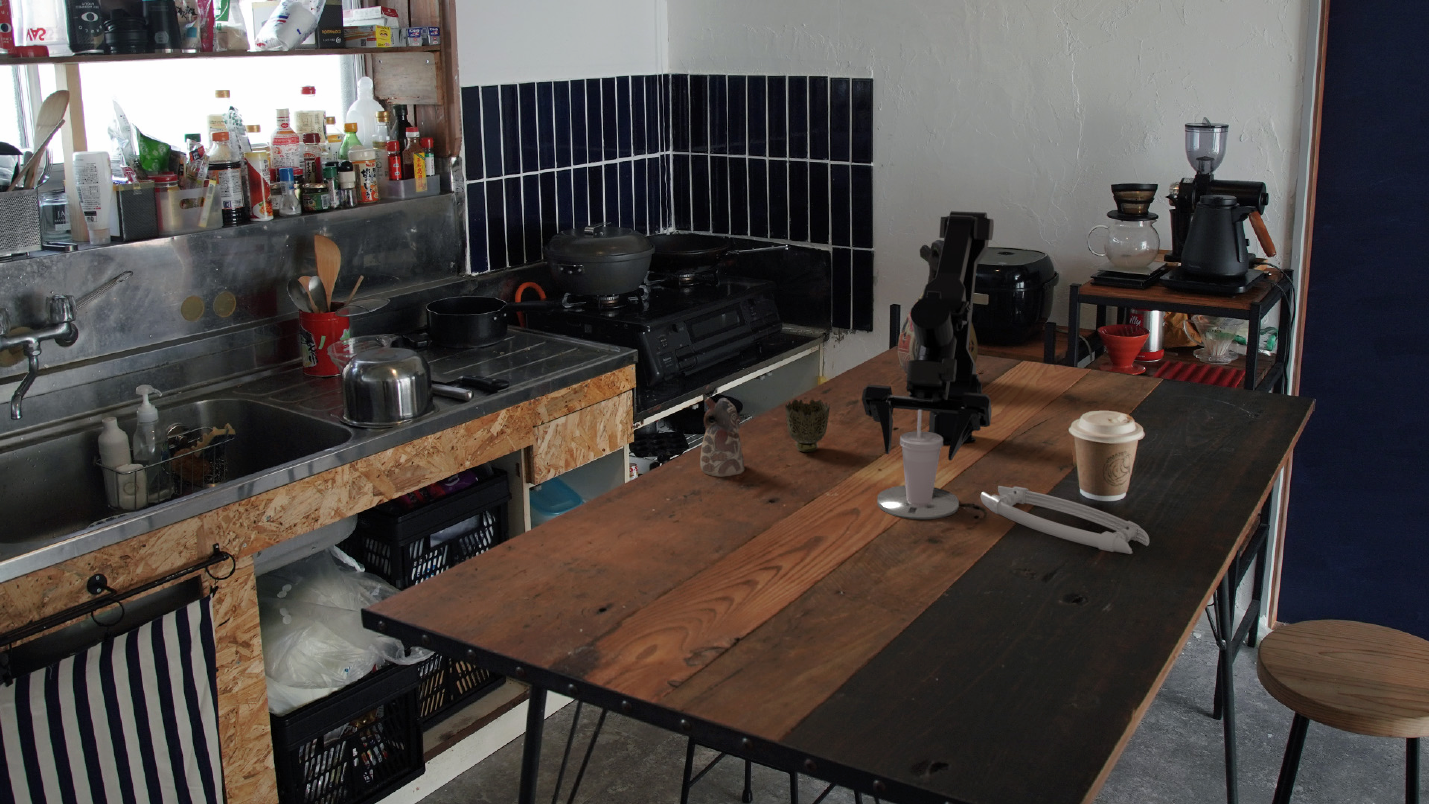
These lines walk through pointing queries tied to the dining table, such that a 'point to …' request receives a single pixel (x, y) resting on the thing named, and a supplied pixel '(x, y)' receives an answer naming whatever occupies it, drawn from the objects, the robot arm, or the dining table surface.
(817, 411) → the cup
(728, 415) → the figurine
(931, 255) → the ceramic jug
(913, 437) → the smoothie
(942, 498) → the pad
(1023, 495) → the door handle
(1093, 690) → the dining table surface
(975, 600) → the dining table surface
